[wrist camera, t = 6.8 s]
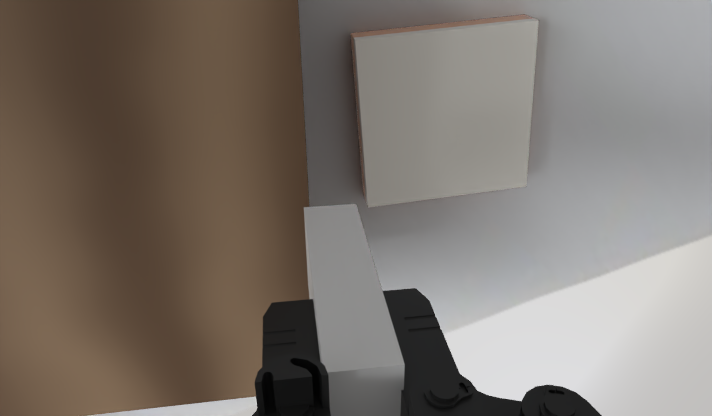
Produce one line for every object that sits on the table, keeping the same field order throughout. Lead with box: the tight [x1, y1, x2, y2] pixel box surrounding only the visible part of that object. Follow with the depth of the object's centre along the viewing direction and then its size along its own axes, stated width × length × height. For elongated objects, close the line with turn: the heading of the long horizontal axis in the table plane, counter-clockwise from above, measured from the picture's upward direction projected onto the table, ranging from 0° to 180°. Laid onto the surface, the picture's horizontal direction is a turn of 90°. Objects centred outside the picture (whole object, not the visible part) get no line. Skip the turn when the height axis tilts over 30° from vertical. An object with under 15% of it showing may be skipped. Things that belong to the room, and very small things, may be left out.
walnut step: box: [0, 0, 310, 416], centre depth 21 cm, size 14×14×10 cm
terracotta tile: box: [351, 14, 539, 208], centre depth 27 cm, size 8×8×2 cm
